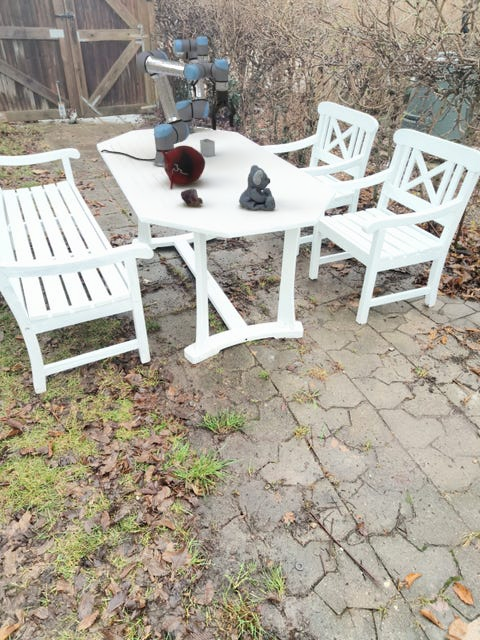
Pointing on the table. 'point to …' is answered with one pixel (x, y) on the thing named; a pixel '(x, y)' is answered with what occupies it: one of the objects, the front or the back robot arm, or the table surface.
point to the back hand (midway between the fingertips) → (204, 96)
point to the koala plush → (257, 191)
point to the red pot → (183, 165)
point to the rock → (191, 197)
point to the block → (207, 147)
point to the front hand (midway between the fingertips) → (222, 128)
